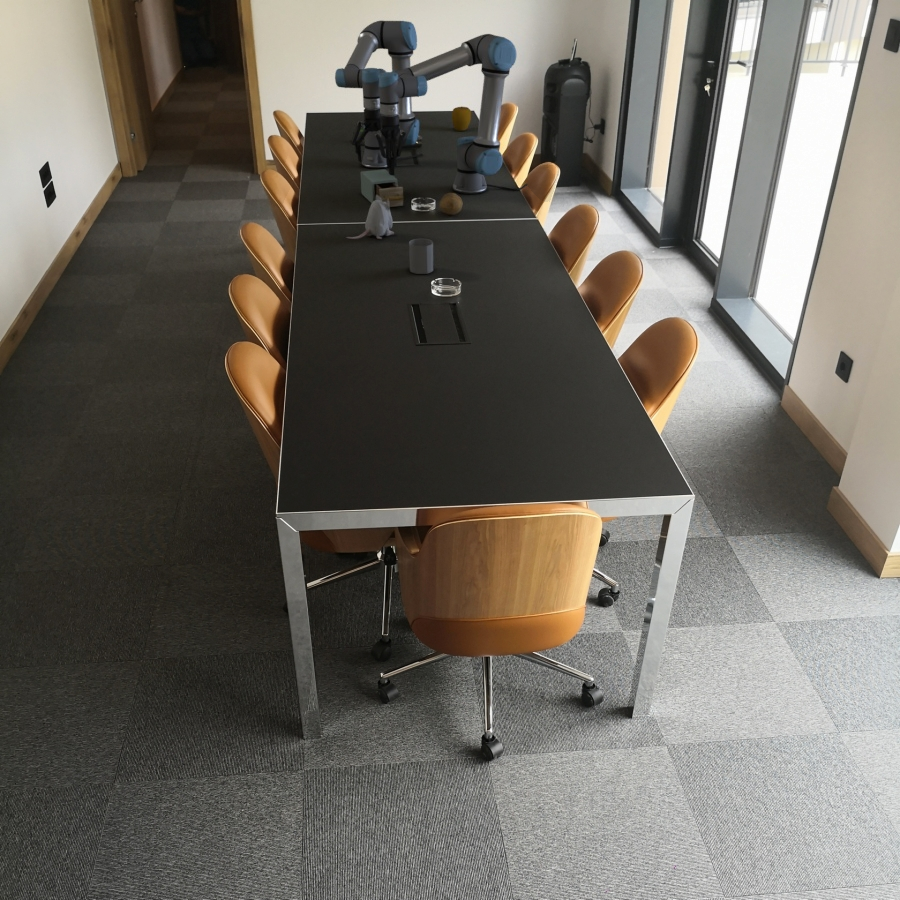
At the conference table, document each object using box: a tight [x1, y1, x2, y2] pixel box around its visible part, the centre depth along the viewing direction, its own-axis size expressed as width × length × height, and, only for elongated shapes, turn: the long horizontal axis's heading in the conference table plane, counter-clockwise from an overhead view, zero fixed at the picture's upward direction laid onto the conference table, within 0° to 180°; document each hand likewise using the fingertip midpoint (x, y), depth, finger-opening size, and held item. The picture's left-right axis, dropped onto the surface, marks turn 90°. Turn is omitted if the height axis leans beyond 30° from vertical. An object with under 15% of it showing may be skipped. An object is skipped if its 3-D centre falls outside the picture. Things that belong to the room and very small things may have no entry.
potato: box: [439, 192, 464, 216], centre depth 360 cm, size 10×14×8 cm
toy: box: [345, 195, 395, 240], centre depth 331 cm, size 9×24×15 cm, turn 137°
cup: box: [408, 237, 434, 275], centre depth 305 cm, size 8×8×10 cm
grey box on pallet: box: [359, 168, 399, 204], centre depth 379 cm, size 17×11×10 cm, turn 21°
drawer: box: [374, 182, 404, 208], centre depth 370 cm, size 21×10×8 cm, turn 21°
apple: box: [451, 105, 472, 132], centre depth 487 cm, size 11×11×13 cm
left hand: (374, 159), depth 377 cm, fingers open, 13 cm apart
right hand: (391, 174), depth 359 cm, fingers closed
